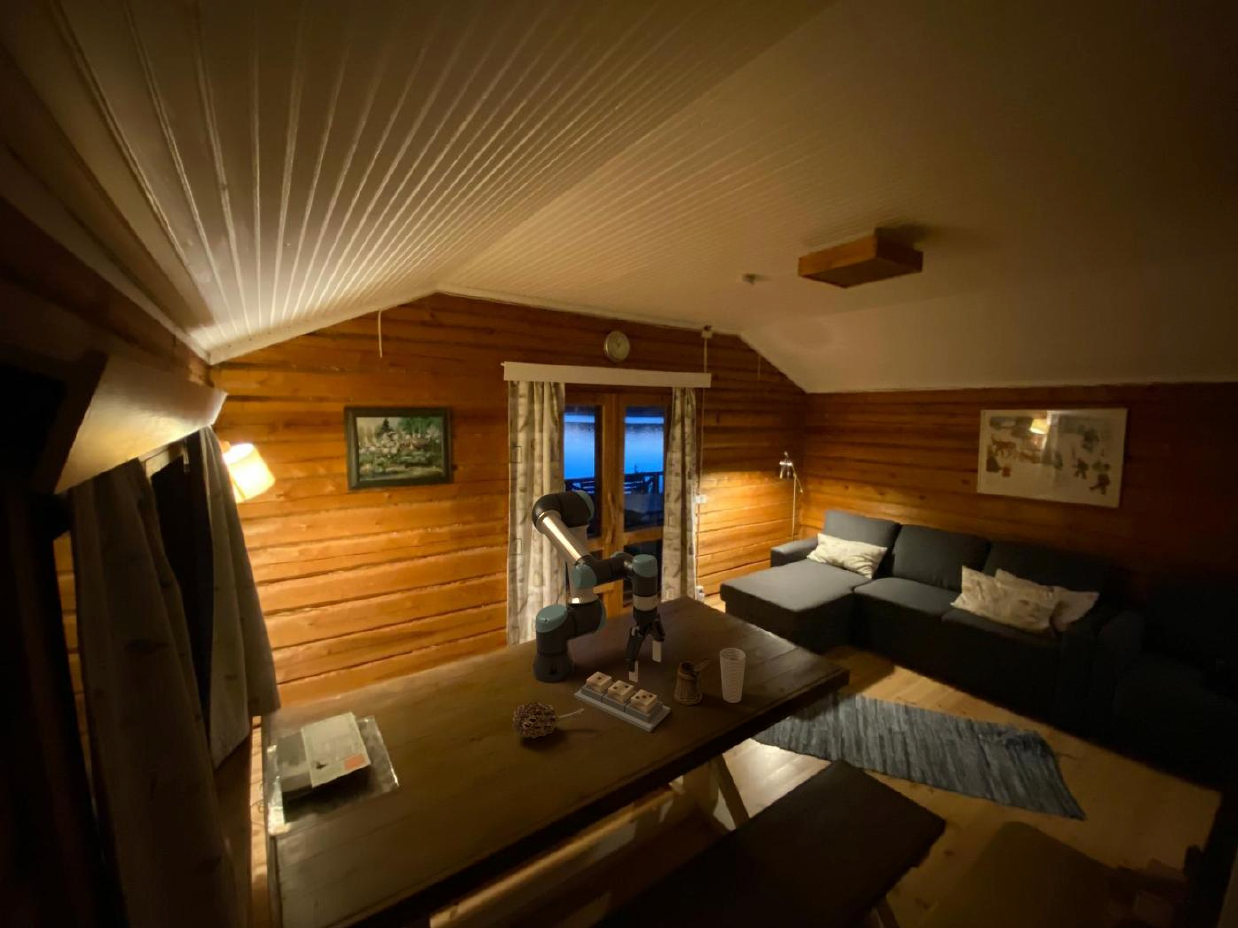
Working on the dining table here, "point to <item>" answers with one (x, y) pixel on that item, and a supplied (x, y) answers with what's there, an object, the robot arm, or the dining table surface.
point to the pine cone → (538, 719)
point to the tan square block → (599, 682)
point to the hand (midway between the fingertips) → (645, 670)
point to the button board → (623, 708)
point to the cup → (732, 673)
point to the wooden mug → (689, 682)
